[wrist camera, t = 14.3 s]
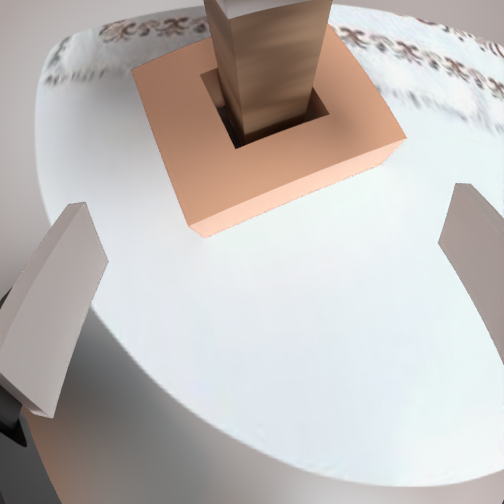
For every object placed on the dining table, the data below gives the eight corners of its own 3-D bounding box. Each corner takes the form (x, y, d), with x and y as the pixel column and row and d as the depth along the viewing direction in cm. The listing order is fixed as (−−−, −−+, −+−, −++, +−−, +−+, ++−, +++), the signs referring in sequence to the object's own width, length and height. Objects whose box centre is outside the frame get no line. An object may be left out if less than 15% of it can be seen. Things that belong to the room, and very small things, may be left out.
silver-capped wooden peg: (277, 97, 23) (288, -85, 7) (300, 141, 23) (346, -42, 7) (226, 115, 23) (185, -67, 7) (247, 161, 23) (222, -24, 7)
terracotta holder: (308, 47, 23) (315, 8, 18) (380, 164, 22) (406, 137, 17) (152, 104, 23) (131, 70, 18) (204, 238, 22) (188, 226, 17)
